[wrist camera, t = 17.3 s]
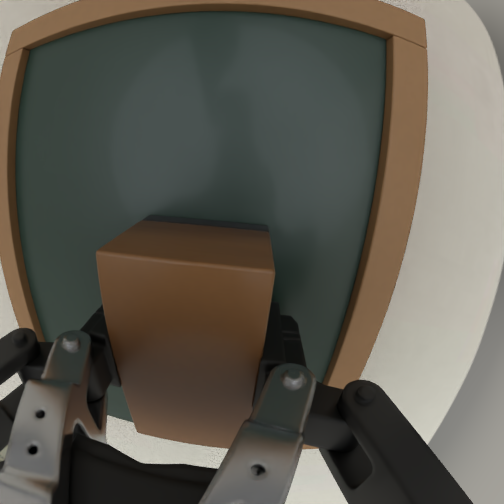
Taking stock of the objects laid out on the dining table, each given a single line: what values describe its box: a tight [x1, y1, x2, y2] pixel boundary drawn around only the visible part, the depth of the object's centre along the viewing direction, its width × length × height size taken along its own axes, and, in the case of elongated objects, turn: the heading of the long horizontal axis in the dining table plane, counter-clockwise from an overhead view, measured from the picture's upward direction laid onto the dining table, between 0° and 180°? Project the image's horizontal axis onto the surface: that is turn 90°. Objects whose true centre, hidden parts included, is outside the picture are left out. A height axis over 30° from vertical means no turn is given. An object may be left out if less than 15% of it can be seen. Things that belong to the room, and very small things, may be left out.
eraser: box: [96, 215, 275, 449], centre depth 9 cm, size 8×4×4 cm, turn 174°
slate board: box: [0, 0, 428, 449], centre depth 11 cm, size 24×19×2 cm
